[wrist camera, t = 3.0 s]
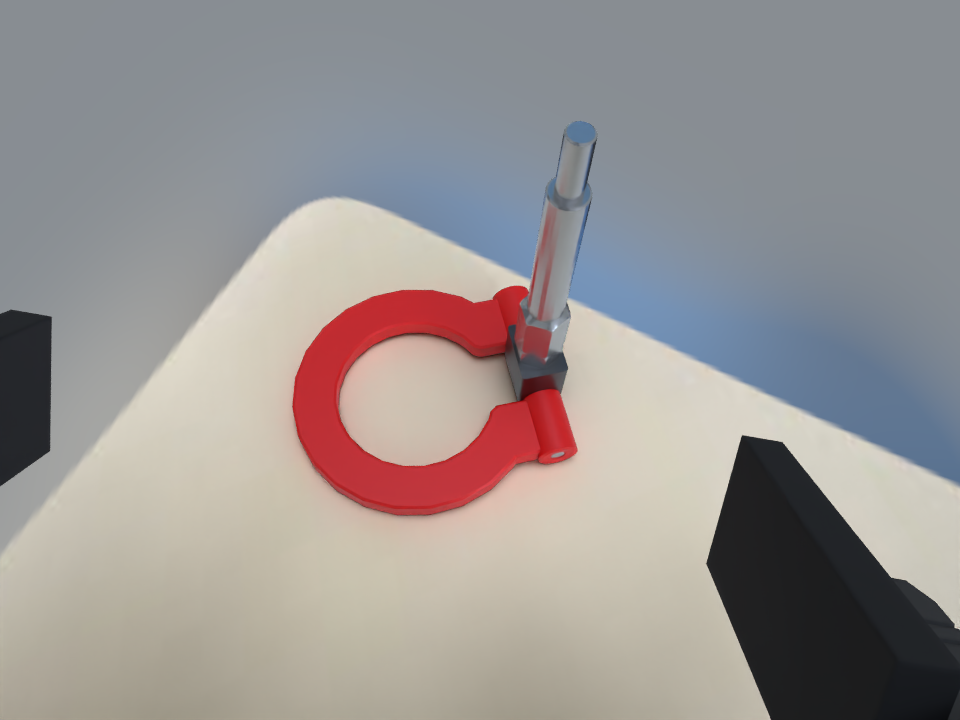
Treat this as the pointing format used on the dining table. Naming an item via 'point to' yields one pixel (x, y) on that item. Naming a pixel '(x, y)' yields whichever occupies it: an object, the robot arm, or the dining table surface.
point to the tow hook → (482, 331)
